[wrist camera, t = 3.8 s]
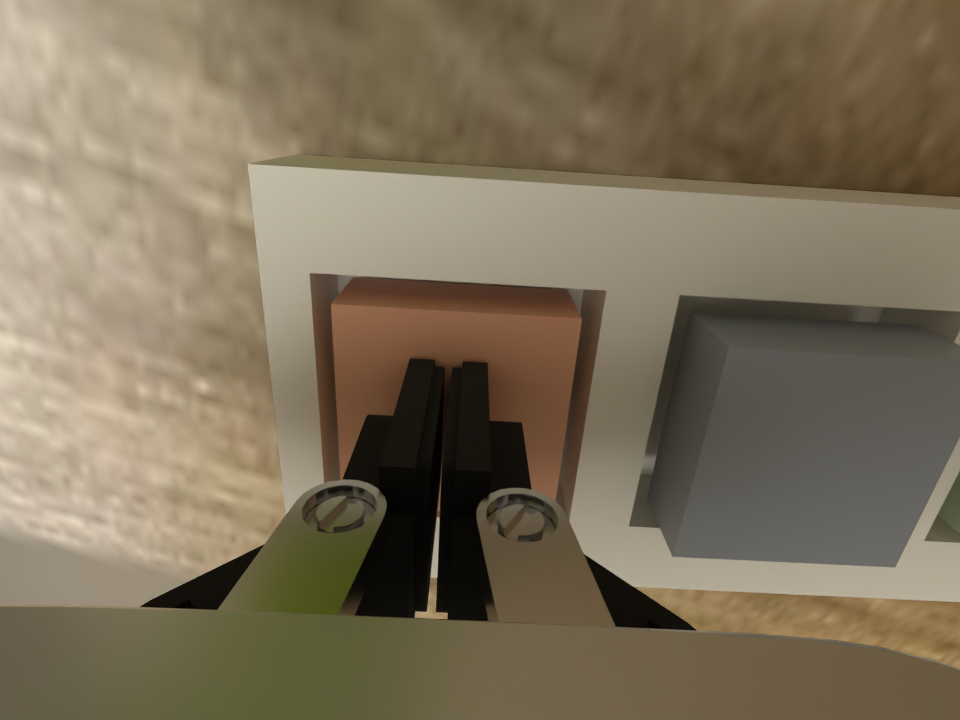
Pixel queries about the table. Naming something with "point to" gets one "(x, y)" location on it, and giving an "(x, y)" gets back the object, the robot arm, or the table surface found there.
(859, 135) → the table surface
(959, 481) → the sage button
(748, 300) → the button panel
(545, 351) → the terracotta button
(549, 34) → the table surface
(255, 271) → the table surface
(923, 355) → the slate button
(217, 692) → the robot arm
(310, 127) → the table surface
